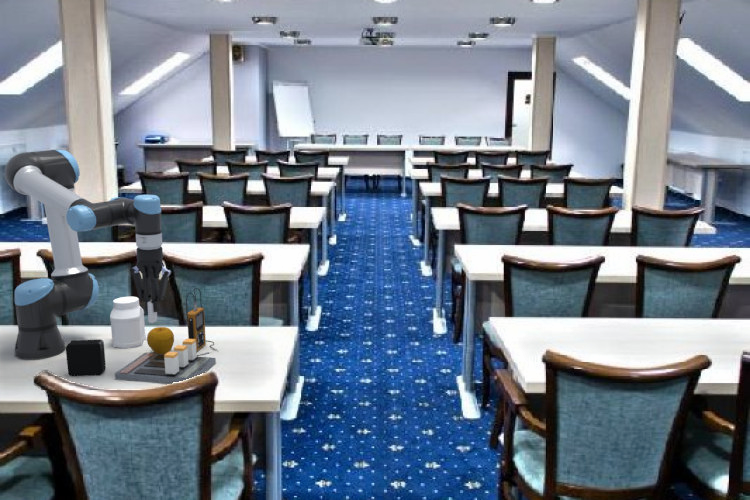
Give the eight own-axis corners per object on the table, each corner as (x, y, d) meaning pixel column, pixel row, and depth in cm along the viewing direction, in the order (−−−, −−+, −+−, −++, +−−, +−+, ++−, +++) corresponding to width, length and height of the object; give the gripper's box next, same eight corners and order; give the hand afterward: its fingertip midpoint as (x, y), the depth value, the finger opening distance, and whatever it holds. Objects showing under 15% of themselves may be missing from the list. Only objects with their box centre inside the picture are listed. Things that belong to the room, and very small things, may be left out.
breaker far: (183, 359, 235) (182, 341, 234) (187, 356, 238) (186, 338, 236) (192, 360, 234) (191, 342, 233) (196, 356, 237) (195, 339, 236)
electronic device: (72, 371, 232) (69, 340, 230) (106, 370, 233) (103, 339, 231) (68, 376, 228) (65, 344, 226) (102, 375, 229) (99, 343, 227)
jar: (139, 347, 253) (136, 304, 250) (110, 348, 252) (106, 305, 249) (147, 336, 264) (144, 294, 261) (119, 337, 263) (115, 295, 260)
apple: (142, 355, 246) (140, 329, 244) (162, 347, 253) (160, 322, 251) (161, 360, 241) (159, 333, 239) (180, 352, 248) (179, 326, 247)
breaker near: (165, 373, 224) (164, 354, 222) (169, 370, 226) (168, 351, 225) (174, 374, 223) (173, 355, 222) (179, 370, 226) (178, 352, 224)
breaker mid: (175, 366, 229) (173, 348, 228) (179, 363, 232) (178, 345, 231) (184, 367, 229) (183, 348, 227) (188, 363, 231) (187, 345, 230)
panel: (115, 379, 226) (114, 372, 225) (145, 358, 243) (144, 351, 242) (190, 385, 221) (190, 378, 220) (215, 363, 238) (215, 357, 238)
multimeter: (213, 357, 243) (209, 297, 239) (184, 355, 245) (180, 295, 241) (230, 342, 257) (227, 285, 253) (203, 340, 259) (199, 284, 255)
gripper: (123, 247, 226) (127, 323, 232) (163, 251, 224) (166, 327, 229) (136, 242, 234) (139, 315, 239) (175, 245, 231) (178, 319, 236)
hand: (152, 321), depth 234 cm, fingers closed
